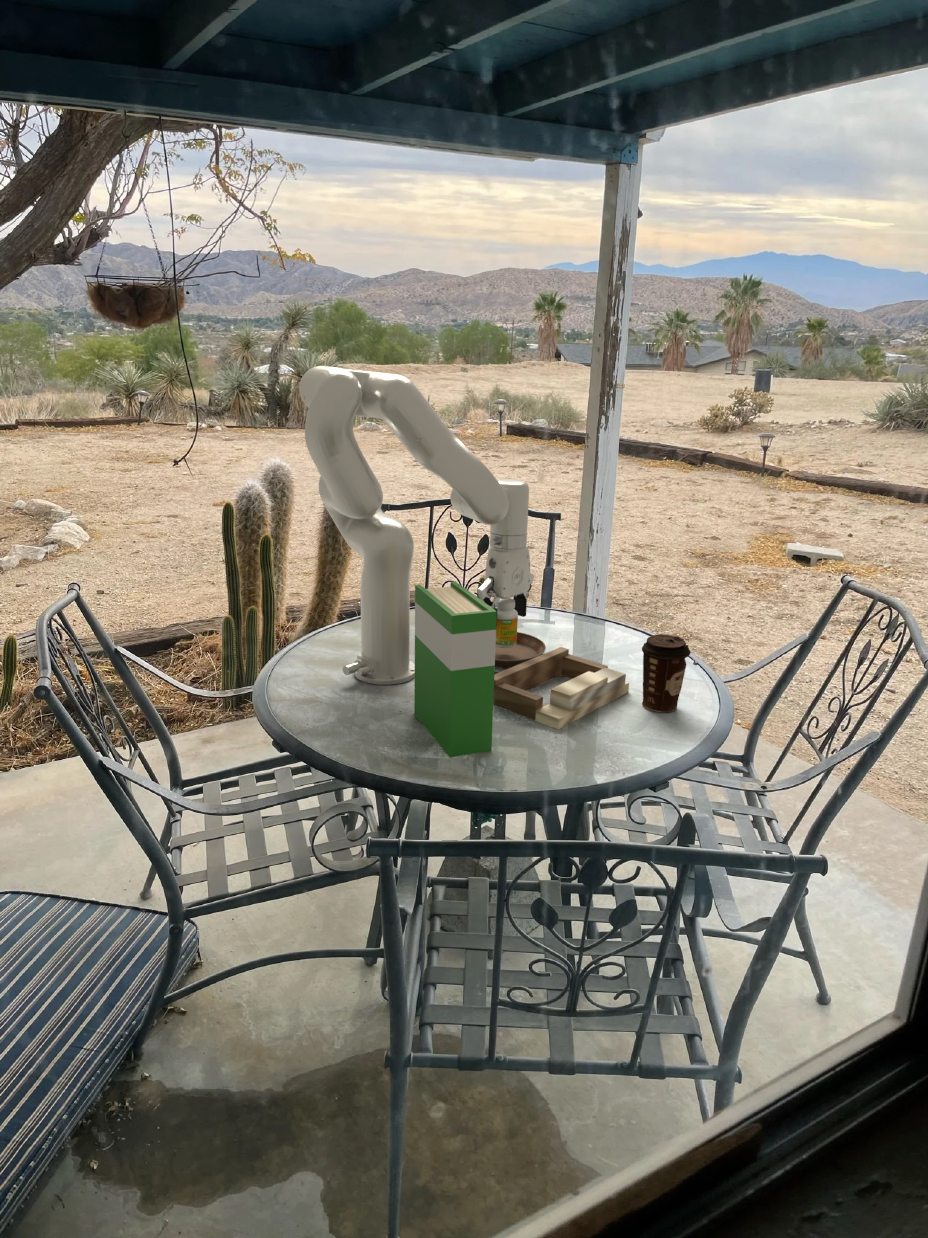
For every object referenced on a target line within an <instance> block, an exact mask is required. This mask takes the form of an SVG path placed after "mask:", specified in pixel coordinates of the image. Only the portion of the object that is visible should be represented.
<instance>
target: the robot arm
mask: <svg viewBox="0 0 928 1238" xmlns="http://www.w3.org/2000/svg"><path fill="white" fill-rule="evenodd" d="M298 389H299V396H300V399H301V400H302V402H303V403H304V405H305V406H306V407H307V412H306V416H305V417H306V418H305V424H304V440H305V445H306V447H307V451H308V453H309V455H310V458H311V459H312V461H313V463H314V465H315V467H316V470H317V471H318V472H319V475H320V477H319V480H318V491H319V492H318V493H319V496H320V499H321V501H322V503H323V505H324V507H325V509H326V510H327V512H328V515H329V516H330V517H331V519H332V522H334V524H335V526H336V528H337V529H338V531H339V533H340V534H341V536H342V538H343V539H344V542H346V543H347V545H348V546H349V547H350V549H351V550H353V552H355V553H356V554H357V555H359V556H361V558H363V566H362V571H361V575H360V587H359V589H360V592H359V593H360V594H359V595H360V636H361V637H360V641H361V642H360V644H361V647H360V648H361V652H360V653H358V654H357V655H356V656H357V658H356V659H357V660H355V661H354V662H353V663H349V664H346V665H343V666H342V673H343V674H344V675H345V676H349V675H352V674H353V675H354V677H356V679H358V680H359V681H361V682H363V683H367V684H372V685H379V686H380V685H381V686H382V685H383V686H384V685H386V686H387V685H389V686H390V685H398V684H402V683H406V682H409V681H411V680H412V679H415V662H413V661H411V660H410V629H411V628H410V625H411V624H410V618H411V617H410V614H411V613H410V610H411V609H410V607H411V605H410V602H411V600H410V597H411V596H410V591H411V588H410V584H411V571H412V564H413V558H414V554H415V553H414V552H415V550H414V549H415V542H414V540H413V535H412V533H411V532H410V530H409V528H408V527H407V526H406V525H405V524H404V523H403V522H401V521H400V520H398V519H397V518H395V517H392V516H391V515H389V514H386V513H384V510H382V505H383V500H384V494H383V493H384V492H383V489H382V487H381V484H380V482H379V480H378V478H377V477H376V475H375V473H374V472H373V470H372V468H371V466H370V465H369V463H368V460H367V459H366V458H365V455H364V454H363V452H362V450H361V448H360V446H359V444H358V440H357V439H356V437H355V433H354V420H355V417H360V418H361V417H362V418H376V419H380V420H382V421H383V422H384V423H385V424H386V426H387V427H388V428H389V430H391V432H392V433H393V434H394V435H395V436H396V437H397V439H398V440H399V441H400V442H401V444H402V445H403V446H404V447H405V449H406V450H407V451H408V453H409V454H410V455H411V457H412V458H413V459H414V461H416V462H417V463H418V464H419V465H420V466H422V468H424V469H425V470H427V471H428V472H429V473H432V474H433V475H435V476H436V477H438V478H439V479H441V480H442V481H444V482H445V483H446V484H447V485H448V486H450V487H451V488H452V490H451V491H450V503H451V506H452V507H453V509H454V510H455V511H456V512H457V513H458V514H459V515H461V516H464V517H466V518H469V519H471V520H474V521H476V522H478V523H480V524H483V525H488V526H490V528H489V529H490V531H489V532H490V533H489V548H488V553H487V559H486V563H485V564H486V565H485V573H484V582H483V583H482V584H481V585H480V586H479V587H478V588H477V591H476V593H477V595H478V596H477V597H478V598H479V599H480V600H482V601H483V602H485V603H486V604H487V605H489V606H490V607H491V608H493V609H494V610H496V611H497V612H498V610H497V607H496V605H497V603H498V601H499V599H500V598H501V599H507V598H512V599H513V600H515V608H514V609H515V610H516V611H517V612H518V617H523V618H524V617H526V616H527V605H528V598H529V596H530V590H531V589H532V584H533V581H534V578H535V575H534V574H532V572H531V558H530V549H529V546H528V545H527V543H528V541H527V540H528V525H529V524H528V521H529V499H530V487H529V484H528V483H527V482H526V481H524V480H522V479H515V478H502V479H497V478H496V477H495V476H494V474H493V473H492V472H491V470H490V469H489V468H488V467H487V466H486V464H484V463H483V462H482V461H481V459H479V457H478V456H476V454H474V453H473V452H472V451H471V449H470V448H468V447H467V446H466V445H465V444H464V443H463V442H462V440H460V439H459V438H458V437H457V436H456V435H455V434H454V433H453V432H452V430H451V429H450V428H449V427H448V426H447V424H445V422H444V421H443V420H442V419H441V417H440V416H439V414H438V413H437V411H435V409H434V408H433V407H432V406H431V404H430V402H429V401H428V399H426V397H425V396H424V395H423V394H422V392H421V391H420V390H419V388H418V387H417V386H416V385H415V383H414V382H413V381H412V380H410V379H409V378H407V377H406V376H403V375H400V374H398V373H397V374H395V373H387V372H381V371H380V372H375V371H365V370H355V369H349V368H342V367H335V366H327V365H318V366H314V367H312V368H310V369H308V370H307V371H306V372H305V373H304V374H303V376H302V377H301V379H300V381H299V387H298ZM491 598H493V599H492V600H491ZM496 626H497V618H496Z"/></svg>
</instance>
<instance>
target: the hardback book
mask: <svg viewBox="0 0 928 1238" xmlns="http://www.w3.org/2000/svg"><path fill="white" fill-rule="evenodd" d="M496 618H497V611H496V610H494V609H493V608H491V607H490V606H489V605H487V604H486V603H485V602H483V601H482V600H480V599H479V596H476V595H475V594H474V593H472V592H471V591H469V590H468V589H467V588H465V587H464V586H463V585H461V584H460V583H458V582H457V581H450V586H443V587H442V586H441V587H432V588H430V587H429V588H426V587H424V586H423V585H421V584H414V664H415V677H414V695H413V696H414V699H413V700H414V705H413V706H414V709H413V710H414V715H415V716H416V718H417V720H419V722H420V723H421V724H422V725H423V727H424V728H425V729H426V730H427V732H428V733H429V734H430V735H431V737H432V738H433V739H434V740H435V741H436V743H437V744H438V745H439V747H440V748H441V749H442V751H443V752H444V753H445V754H446V756H447V757H448V758H455V757H461V756H466V755H474V754H480V753H484V752H485V753H486V752H490V751H493V750H492V747H493V725H494V723H493V721H494V705H493V699H494V674H495V673H496V671H495V668H496V667H495V645H496Z"/></svg>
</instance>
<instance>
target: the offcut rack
mask: <svg viewBox="0 0 928 1238" xmlns="http://www.w3.org/2000/svg"><path fill="white" fill-rule="evenodd" d="M569 649H570V648H566V647H563V646H560V647H557V648H554V649H552V650H551V651H550V650H549V651H548V652H545V653H543V654H542V655H540V656H538V657H535V658H533V659H530V660H528V661H526V662H523V663H521V664H518V665H516V666H514V667H511V668H505V669H504V670H502V671H499V672H497V673H494V699H493V706H495V707H498V708H500V707H501V708H500V709H503V710H505V709H506V711H509V712H511V713H513V714H517V715H519V716H521V717H524V718H527V719H529V720H532V721H534V722H538V723H539V724H542V725H546V726H549V727H551V728H553V729H556V730H560V729H561V728H562V729H563V728H564V727H566V726H568V725H570V724H571V723H574V722H576V721H577V720H579V719H581V718H582V717H584V716H587V715H588V714H591V713H592V712H594V711H596V710H597V709H599V708H601V707H603V706H605V705H607V704H609V703H611V702H612V701H615V700H616V699H619V698H620V697H622V696H624V695H625V694H627V693H629V690H630V689H629V687H630V682H628V681H626V680H627V679H626V678H627V674H626V673H624V672H621V671H618V670H615V669H612V668H609V667H608V665H605V664H603V663H600V662H596V661H593V660H590V659H586V658H583V657H579V656H577V655H574V654H570V652H569V651H570V650H569ZM560 675H561V676H563V677H567V678H568V679H569V678H570V679H569V680H567V681H565V682H562V683H560V684H559V685H556V686H555V687H552V688H550V695H549V704H546V705H544V696H542V695H539V694H537V693H534V692H531V690H532V689H534V688H536V687H538V686H541V685H543V684H545V683H547V682H549V681H551V680H555V679H557V678H558V677H560Z"/></svg>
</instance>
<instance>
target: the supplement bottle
mask: <svg viewBox="0 0 928 1238" xmlns="http://www.w3.org/2000/svg"><path fill="white" fill-rule="evenodd" d="M495 608H497V610H498V612H497V626H496V645H495V646H496V647H500V648H510V647H514V646H515V645H516V644H517V632H518V623H519V622H518V619H519V615H518V612H517V611H516V610H515V609H514V608H515V600H513V598H512V597H510V598H507V599H501V598H500V599H499V601H498V603H497V605H496V607H495Z"/></svg>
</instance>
